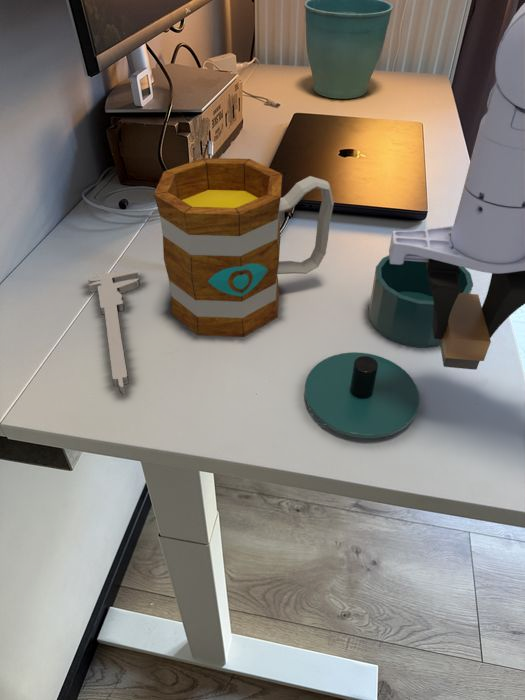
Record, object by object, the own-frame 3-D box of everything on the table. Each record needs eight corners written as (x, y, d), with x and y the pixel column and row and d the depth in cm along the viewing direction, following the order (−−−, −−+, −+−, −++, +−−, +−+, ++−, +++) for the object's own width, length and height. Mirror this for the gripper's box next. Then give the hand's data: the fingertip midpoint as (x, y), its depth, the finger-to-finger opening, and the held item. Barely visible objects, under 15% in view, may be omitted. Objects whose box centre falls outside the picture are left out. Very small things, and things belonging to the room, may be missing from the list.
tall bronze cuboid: (468, 324, 51) (478, 294, 48) (479, 372, 46) (491, 341, 44) (433, 321, 51) (442, 291, 49) (441, 369, 46) (450, 338, 44)
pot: (453, 294, 66) (465, 253, 62) (464, 351, 58) (479, 308, 54) (368, 288, 67) (375, 247, 63) (369, 342, 59) (376, 299, 55)
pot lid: (413, 364, 57) (421, 330, 54) (421, 448, 49) (432, 414, 46) (308, 355, 58) (311, 321, 55) (299, 435, 50) (302, 401, 47)
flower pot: (380, 81, 128) (392, -4, 116) (381, 107, 115) (394, 14, 103) (304, 77, 130) (308, -6, 119) (296, 102, 117) (300, 11, 105)
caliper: (141, 277, 69) (91, 280, 68) (140, 270, 68) (89, 273, 68) (127, 393, 54) (63, 398, 53) (125, 386, 53) (60, 391, 53)
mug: (184, 350, 59) (167, 227, 48) (159, 281, 68) (141, 166, 58) (348, 312, 63) (364, 193, 53) (304, 253, 73) (311, 142, 63)
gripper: (595, 170, 41) (534, 312, 50) (399, 160, 42) (375, 299, 51) (629, 216, 36) (554, 364, 45) (405, 203, 37) (377, 349, 46)
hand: (459, 333), depth 48 cm, fingers closed on tall bronze cuboid, 3 cm apart
